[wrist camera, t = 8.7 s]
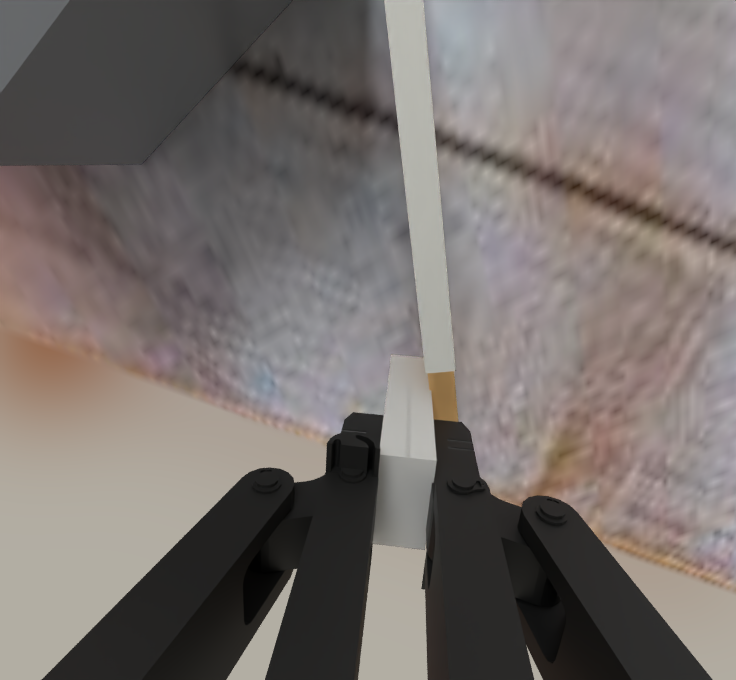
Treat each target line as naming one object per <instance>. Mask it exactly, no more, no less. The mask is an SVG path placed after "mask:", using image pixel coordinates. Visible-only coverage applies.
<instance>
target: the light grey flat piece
mask: <svg viewBox="0 0 736 680" xmlns="http://www.w3.org/2000/svg"><path fill="white" fill-rule="evenodd" d="M384 3H385V13H386V22H387V31H388V40H389V49H390V58H391V67H392V76H393V85H394V94H395V103H396V112H397V121H398V130H399V139H400V148H401V157H402V166H403V175H404V184H405V193H406V202H407V212H408V221H409V230H410V239H411V248H412V257H413V266H414V275H415V284H416V293H417V302H418V311H419V320H420V329H421V338H422V347H423V356H424V365H425V374H426V373H428V382H429V390H431V393H432V406H433V419H435V420H445V421H455V422H458V412H457V401H456V390H455V379H454V371H456V368H455V357H454V346H453V334H452V323H451V311H450V300H449V288H448V277H447V266H446V254H445V243H444V231H443V220H442V208H441V197H440V186H439V174H438V163H437V151H436V140H435V129H434V117H433V106H432V94H431V83H430V71H429V60H428V49H427V37H426V26H425V14H424V3H423V0H384Z"/></svg>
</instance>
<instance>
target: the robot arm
mask: <svg viewBox="0 0 736 680" xmlns="http://www.w3.org/2000/svg"><path fill="white" fill-rule="evenodd" d="M373 544H379V545H388V546H396V547H404V548H412V549H421V550H425V545H426V548H427V552H426V559H425V567H424V574H423V581H422V589H425V596H426V597H425V598H426V634H427V668H428V669H427V670H428V680H534V677H533V673H532V668H531V664H530V660H529V655H528V651H527V647H528V649H529V651H530V653H531V655H532V657H533V660H534V662H535V664H536V666H537V668H538V670H539V672H540V674H541V676H542V678H543V680H712V679H711V677H710V676H709V675H708V674H707V672H706V671H705V670H704V669H703V667H702V666H701V665H700V664H699V662H698V661H697V660H696V659H695V657H694V656H693V655H692V654H691V653H690V651H689V650H688V649H687V647H686V646H685V645H684V644H683V643H682V641H681V640H680V639H679V638H678V636H677V635H676V634H675V633H674V631H673V630H672V629H671V628H670V626H669V625H668V624H667V623H666V622H665V620H664V619H663V618H662V617H661V615H660V614H659V613H658V612H657V610H655V608H654V607H653V605H652V604H651V603H650V602H649V601H648V599H647V598H646V597H645V596H644V594H643V593H642V592H641V591H640V589H639V588H638V587H637V586H636V584H635V583H634V582H633V581H632V580H631V578H630V577H629V576H628V575H627V573H626V572H625V571H624V570H623V568H622V567H621V566H620V565H619V563H618V562H617V561H616V560H615V558H614V557H613V556H612V555H611V554H610V552H609V551H608V550H607V549H606V547H605V546H604V545H603V544H602V542H601V541H600V540H599V539H598V537H597V536H596V535H595V534H594V533H593V531H592V530H591V529H590V528H589V526H588V525H587V524H586V523H585V521H584V520H583V519H582V518H581V516H580V515H579V514H578V513H577V512H576V511H575V510H574V509H573V508H572V507H571V506H570V505H568V504H566V503H564V502H562V501H561V500H558V499H555V498H552V497H549V496H533V497H529V498H527V499H526V500H525V501H523V504H522V507H520V506H516V505H513V504H510V503H507V502H505V501H502V500H500V499H498V498H496V497H495V496H493V495H491V493H490V489H489V487H488V485H487V483H486V482H485V481H484V480H483V479H481V478H480V476H479V471H478V467H477V462H476V457H475V452H474V448H473V443H472V438H471V433H470V431H469V430H468V429H467V427H466V426H465V425H464V424H463V423H462V422H455V421H445V420H435V419H433V406H432V393H431V390H429V382H428V373H426V374H425V365H424V357H414V356H403V355H393V354H391V360H390V368H389V376H388V384H387V392H386V400H385V409H384V415H375V414H365V413H355V412H353V413H352V414H351V415H350V416H348V417H347V418H346V419H345V420H344V424H343V427H342V431H341V433H340V434H337V435H335V436H333V437H332V438H330V440H329V441H328V443H327V457H326V473H325V475H324V476H322V477H320V478H317V479H315V480H311V481H306V482H297V483H294V480H293V477H292V476H291V475H290V474H289V473H288V472H286V471H284V470H281V469H277V468H260V469H257V470H254V471H251V472H249V473H248V474H246V475H245V476H244V477H242V478H241V479H240V480H239V481H238V482H237V483H236V484H235V486H233V488H231V489H230V490H229V492H228V493H226V494H225V496H223V497H222V499H221V500H220V501H219V502H218V503H217V504H216V505H215V506H214V507H213V508H212V509H211V510H210V511H209V512H208V513H207V514H206V515H205V516H204V517H203V518H202V519H201V520H200V521H199V522H198V523H197V524H196V525H195V526H194V527H193V528H192V529H191V530H190V531H189V532H188V533H187V534H186V535H185V536H184V537H183V538H182V539H181V540H180V541H179V542H178V543H177V544H176V545H175V546H174V547H173V548H172V549H171V550H170V551H169V552H168V553H167V554H166V555H165V556H164V557H163V558H162V559H161V560H160V561H159V562H158V563H157V564H156V565H155V566H154V567H153V568H152V569H151V570H150V571H149V572H148V573H147V574H146V575H145V576H144V577H143V578H142V579H141V580H140V581H139V582H138V583H137V584H136V585H135V586H134V587H133V588H132V589H131V590H130V591H129V592H128V593H127V594H126V595H125V596H124V597H123V598H122V599H121V600H120V601H119V602H118V603H117V604H116V605H115V606H114V607H113V608H112V610H111V611H109V612H108V614H106V615H105V617H103V618H102V619H101V621H100V622H99V623H98V624H97V625H96V626H95V627H94V628H93V629H92V630H91V631H90V632H89V633H88V634H87V635H86V636H85V637H84V638H83V639H82V640H81V641H80V642H79V643H78V644H77V645H76V646H75V647H74V648H73V649H72V650H71V651H70V652H69V653H68V654H67V655H66V656H65V657H64V658H63V659H62V660H61V661H60V662H59V663H58V664H57V665H56V666H55V667H54V668H53V669H52V670H51V671H50V672H49V673H48V674H47V675H46V676H45V677H44V678H43V679H42V680H226V679H227V678H228V676H229V674H230V673H231V671H232V669H233V668H234V666H235V665H236V663H237V662H238V660H239V658H240V657H241V655H242V654H243V652H244V650H245V649H246V647H247V646H248V644H249V643H250V641H251V639H252V638H253V636H254V635H255V633H256V631H257V630H258V628H259V627H260V625H261V623H262V621H263V620H264V619H265V617H266V615H267V614H268V612H269V611H270V609H271V607H272V606H273V604H274V603H275V601H276V599H277V598H278V596H279V595H280V593H281V592H282V590H283V588H284V587H285V585H286V584H287V582H288V580H289V579H290V577H291V575H292V572H293V569H297V568H298V569H297V572H296V575H295V579H294V582H293V586H292V590H291V593H290V596H289V599H288V603H287V606H286V610H285V613H284V617H283V620H282V623H281V627H280V631H279V634H278V637H277V640H276V644H275V647H274V651H273V654H272V658H271V661H270V664H269V668H268V671H267V675H266V678H265V680H358V672H359V664H360V654H361V646H362V637H363V628H364V619H365V610H366V601H367V593H368V584H369V575H370V566H371V556H372V545H373ZM526 645H527V647H526Z"/></svg>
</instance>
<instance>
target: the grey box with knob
mask: <svg viewBox="0 0 736 680" xmlns="http://www.w3.org/2000/svg"><path fill="white" fill-rule="evenodd" d="M291 1H292V0H0V166H16V165H129V164H142V163H143V162H144V161H145V160H146V159H147V158H148V157H149V156H150V155H151V154H152V152H153V151H154V150H155V149H156V148H157V147H158V146H159V145H160V144H161V143H162V142H163V140H164V139H165V138H166V137H167V136H168V135H169V134H170V133H171V132H172V131H173V130H174V129H175V127H176V126H177V125H178V124H179V123H180V122H181V121H182V120H183V119H184V118H185V117H186V115H187V114H188V113H189V112H190V111H191V110H192V109H193V108H194V107H195V106H196V105H197V103H198V102H199V101H200V100H201V99H202V98H203V97H204V96H205V95H206V94H207V93H208V92H209V90H210V89H211V88H212V87H213V86H214V85H215V84H216V83H217V82H218V81H219V80H220V78H221V77H222V76H223V75H224V74H225V73H226V72H227V71H228V70H229V69H230V68H231V67H232V65H233V64H234V63H235V62H236V61H237V60H238V59H239V58H240V57H241V56H242V55H243V53H244V52H245V51H246V50H247V49H248V48H249V47H250V46H251V45H252V44H253V43H254V42H255V40H256V39H257V38H258V37H259V36H260V35H261V34H262V33H263V32H264V31H265V30H266V28H267V27H268V26H269V25H270V24H271V23H272V22H273V21H274V20H275V19H276V18H277V16H278V15H279V14H280V13H281V12H282V11H283V10H284V9H285V8H286V7H287V6H288V5H289V3H290V2H291Z"/></svg>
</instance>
